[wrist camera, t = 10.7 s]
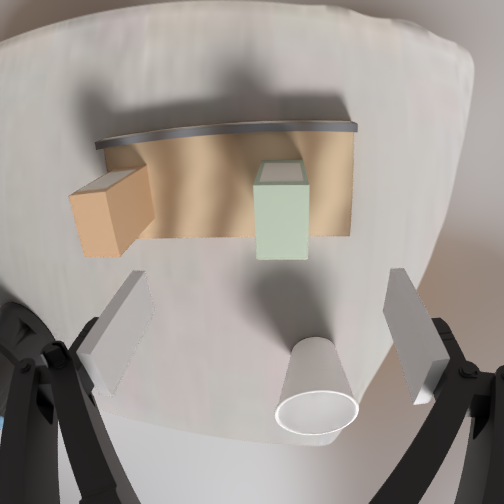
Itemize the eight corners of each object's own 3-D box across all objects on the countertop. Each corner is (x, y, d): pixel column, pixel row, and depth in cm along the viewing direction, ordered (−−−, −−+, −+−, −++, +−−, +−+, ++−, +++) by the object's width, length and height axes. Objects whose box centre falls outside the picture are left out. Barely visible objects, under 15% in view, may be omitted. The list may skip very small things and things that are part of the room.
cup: (294, 315, 41) (294, 381, 31) (361, 335, 41) (375, 398, 32) (268, 364, 45) (262, 426, 36) (329, 379, 46) (333, 439, 36)
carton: (264, 216, 34) (256, 259, 26) (261, 158, 31) (252, 184, 23) (302, 217, 33) (307, 259, 25) (303, 158, 30) (309, 183, 23)
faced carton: (124, 219, 35) (84, 256, 27) (114, 168, 33) (68, 194, 25) (155, 217, 35) (120, 256, 27) (146, 164, 32) (105, 190, 24)
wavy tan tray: (125, 234, 38) (115, 245, 35) (107, 136, 32) (94, 141, 30) (347, 231, 35) (352, 242, 32) (351, 120, 29) (357, 122, 27)
